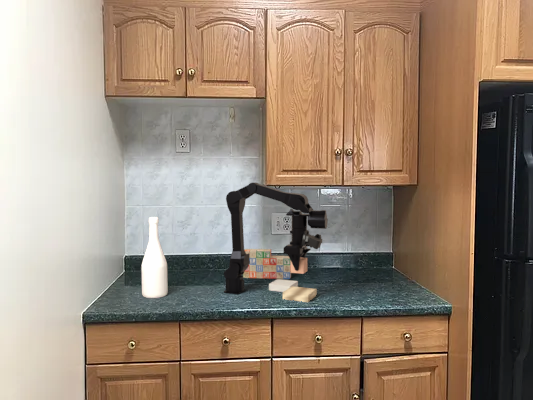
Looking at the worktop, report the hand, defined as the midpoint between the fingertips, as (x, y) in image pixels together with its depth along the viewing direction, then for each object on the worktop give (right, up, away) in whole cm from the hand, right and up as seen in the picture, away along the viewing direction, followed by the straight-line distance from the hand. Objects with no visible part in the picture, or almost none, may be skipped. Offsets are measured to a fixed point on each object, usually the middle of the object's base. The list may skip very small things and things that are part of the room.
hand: (299, 269), depth 171 cm
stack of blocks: (-12, -9, +34) cm, 37 cm away
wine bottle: (-55, -11, +3) cm, 56 cm away
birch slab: (0, -11, 0) cm, 11 cm away
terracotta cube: (0, -1, 0) cm, 1 cm away
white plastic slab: (-5, -10, +13) cm, 17 cm away
